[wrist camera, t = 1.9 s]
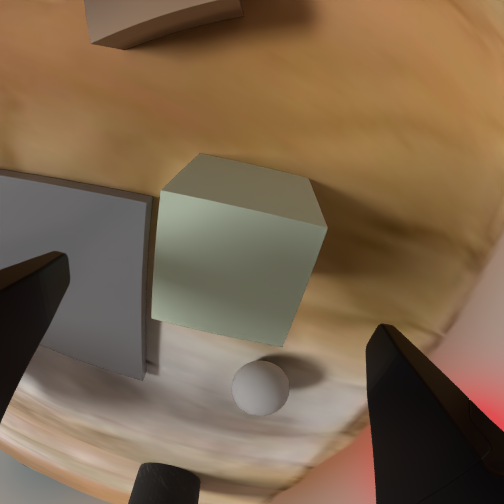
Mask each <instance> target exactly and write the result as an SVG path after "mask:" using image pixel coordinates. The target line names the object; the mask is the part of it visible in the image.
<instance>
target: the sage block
mask: <svg viewBox="0 0 504 504" xmlns="http://www.w3.org/2000/svg"><path fill="white" fill-rule="evenodd" d="M327 229H328V227H327V225H326V222H325V219H324V217H323V214H322V212H321V209H320V206H319V204H318V201H317V199H316V196H315V194H314V191H313V189H312V186H311V184H310V181H309V179H308V178H305V177H302V176H298V175H294V174H290V173H286V172H282V171H278V170H274V169H269V168H265V167H261V166H257V165H252V164H248V163H243V162H239V161H234V160H230V159H225V158H220V157H215V156H210V155H205V154H199V155H198V156H196V157H195V158H194V159H193V160H192V161H191V162H190V163H189V164H188V165H187V166H186V167H185V168H184V169H182V170H181V171H180V172H179V173H178V174H177V175H176V176H175V177H174V178H173V179H172V180H171V181H170V182H169V183H168V184H167V185H166V186H165V187H164V188H163V189H162V190H161V193H160V202H159V212H158V221H157V232H156V244H155V257H154V271H153V289H152V312H151V318H152V319H156V320H159V321H163V322H167V323H171V324H175V325H179V326H183V327H188V328H192V329H196V330H200V331H205V332H209V333H214V334H218V335H223V336H227V337H232V338H237V339H242V340H247V341H252V342H257V343H262V344H268V345H273V346H279V347H283V344H284V342H285V339H286V337H287V334H288V332H289V330H290V327H291V325H292V322H293V320H294V317H295V315H296V312H297V310H298V307H299V304H300V302H301V299H302V297H303V294H304V292H305V289H306V286H307V284H308V281H309V278H310V276H311V273H312V270H313V268H314V265H315V262H316V260H317V257H318V254H319V251H320V249H321V246H322V243H323V240H324V237H325V235H326V232H327Z"/></svg>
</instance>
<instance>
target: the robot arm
mask: <svg viewBox="0 0 504 504" xmlns="http://www.w3.org/2000/svg"><path fill="white" fill-rule="evenodd" d="M69 284H70V269H69V259H68V256H67V254H66V253H63V252H59V251H52V252H49V253H46V254H43V255H40V256H37V257H34V258H31V259H28V260H26V261H23V262H20V263H17V264H14V265H12V266H9V267H6V268H4V269H1V270H0V423H1V420H2V418H3V416H4V414H5V411H6V409H7V407H8V405H9V403H10V400H11V398H12V396H13V394H14V392H15V390H16V388H17V386H18V384H19V382H20V380H21V378H22V376H23V374H24V372H25V370H26V368H27V366H28V364H29V362H30V360H31V359H32V357H33V355H34V353H35V351H36V349H37V348H38V346H39V344H40V342H41V340H42V339H43V337H44V335H45V333H46V332H47V330H48V328H49V326H50V324H51V322H52V320H53V318H54V316H55V314H56V311H57V309H58V307H59V305H60V303H61V301H62V299H63V297H64V295H65V293H66V291H67V289H68V287H69ZM366 375H367V399H368V408H369V416H370V425H371V435H372V445H373V457H374V470H375V485H376V504H504V432H503V431H502V430H501V429H500V428H499V427H498V426H497V425H496V424H495V423H493V422H492V421H491V420H490V419H489V418H488V417H487V416H486V415H485V414H484V413H483V412H482V411H481V410H480V409H479V408H478V407H477V406H476V405H475V404H474V403H473V402H472V401H471V400H469V398H468V397H467V396H466V395H465V394H464V393H463V392H462V391H461V390H460V389H459V388H458V387H457V386H456V385H455V384H454V383H453V382H452V381H451V380H450V379H449V378H448V377H447V376H446V375H445V374H444V373H442V371H441V370H440V369H438V368H437V367H436V366H435V365H434V364H433V363H432V362H431V361H430V360H429V359H428V358H427V357H426V356H425V355H424V354H423V353H422V352H421V351H420V350H419V349H418V348H417V347H416V346H414V345H413V344H412V343H411V342H410V341H409V340H408V339H407V338H406V337H405V336H404V335H403V334H402V333H401V332H400V331H399V330H397V329H396V328H395V327H394V326H393V325H388V324H380V325H378V327H377V328H376V330H375V331H374V333H373V335H372V337H371V338H370V340H369V342H368V344H367V346H366Z"/></svg>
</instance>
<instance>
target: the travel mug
mask: <svg viewBox="0 0 504 504" xmlns="http://www.w3.org/2000/svg"><path fill="white" fill-rule="evenodd" d="M199 491H200V479H199V478H198V477H197V476H196V475H194V474H192V473H190V472H188V471H186V470H183V469H180V468H177V467H174V466H170V465H165V464H159V463H144V464H142V465H141V466H140V468H139V471H138V474H137V477H136V480H135V483H134V486H133V490H132V493H131V496H130V499H129V503H128V504H198V499H199Z"/></svg>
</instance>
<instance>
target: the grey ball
mask: <svg viewBox="0 0 504 504" xmlns="http://www.w3.org/2000/svg"><path fill="white" fill-rule="evenodd" d="M289 389H290V388H289V381H288V378H287V376H286V374H285V373H284V371H283V370H282V369H281V368H280V367H278V366H277V365H275V364H273V363H271V362H268V361H254V362H250V363H248V364H246V365H244V366H243V367H242V368H241V369H240V370H239V371H238V372H237V373H236V375H235V377H234V379H233V382H232V395H233V398H234V400H235V402H236V404H237V405H238V406H239V407H240V408H241V409H242V410H243V411H245V412H246V413H248V414H251V415H255V416H266V415H270V414H272V413H275V412H276V411H278V410H279V409H280V408H281V407H282V406H283V405H284V404H285V402H286V400H287V398H288V395H289Z"/></svg>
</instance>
